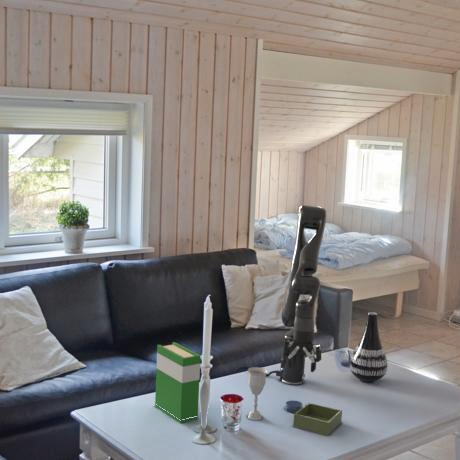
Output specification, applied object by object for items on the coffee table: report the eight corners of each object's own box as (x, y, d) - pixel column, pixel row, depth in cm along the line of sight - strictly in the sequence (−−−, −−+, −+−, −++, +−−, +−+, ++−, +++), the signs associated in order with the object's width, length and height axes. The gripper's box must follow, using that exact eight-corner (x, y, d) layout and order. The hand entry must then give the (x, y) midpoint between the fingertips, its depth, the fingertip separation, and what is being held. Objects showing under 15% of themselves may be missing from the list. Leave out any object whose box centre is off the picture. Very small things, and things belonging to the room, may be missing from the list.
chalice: (267, 415, 290) (269, 369, 287) (261, 422, 283) (264, 374, 280) (248, 412, 292) (251, 366, 289) (242, 418, 286) (244, 371, 283)
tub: (293, 426, 281) (293, 414, 280) (307, 414, 293) (308, 402, 292) (327, 435, 275) (328, 422, 274) (341, 422, 287) (342, 410, 286)
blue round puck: (282, 410, 295) (282, 404, 295) (289, 405, 301) (289, 399, 301) (298, 414, 292) (298, 408, 292) (304, 408, 298) (305, 402, 298)
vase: (389, 388, 325) (395, 319, 320) (350, 385, 325) (356, 317, 321) (383, 375, 341) (388, 309, 336) (346, 372, 341) (351, 307, 336)
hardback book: (155, 406, 293) (157, 344, 289) (171, 402, 297) (174, 342, 293) (180, 423, 279) (183, 358, 275) (197, 419, 283) (200, 355, 279)
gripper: (325, 328, 295) (322, 370, 297) (290, 323, 301) (288, 364, 303) (318, 333, 288) (316, 375, 290) (282, 327, 294) (280, 369, 296)
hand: (301, 369), depth 297 cm, fingers open, 8 cm apart
